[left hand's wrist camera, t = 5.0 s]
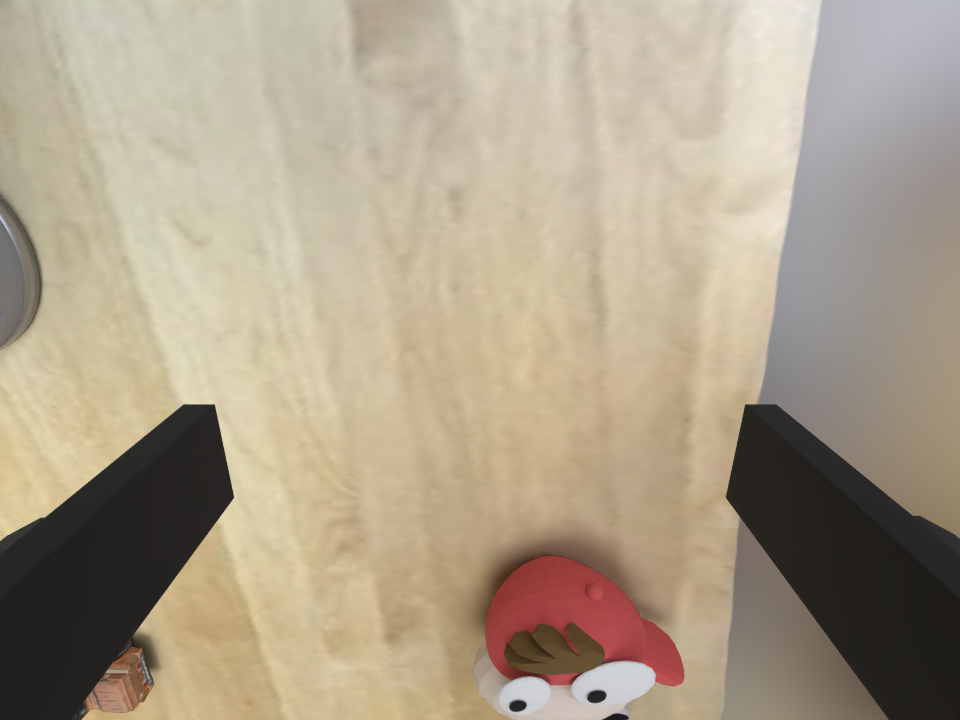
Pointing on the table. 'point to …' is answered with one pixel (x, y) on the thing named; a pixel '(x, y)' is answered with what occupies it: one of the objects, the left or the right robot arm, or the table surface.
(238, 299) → the table surface
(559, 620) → the toy
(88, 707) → the toy car
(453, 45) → the table surface
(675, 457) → the table surface
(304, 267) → the table surface
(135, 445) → the left robot arm
